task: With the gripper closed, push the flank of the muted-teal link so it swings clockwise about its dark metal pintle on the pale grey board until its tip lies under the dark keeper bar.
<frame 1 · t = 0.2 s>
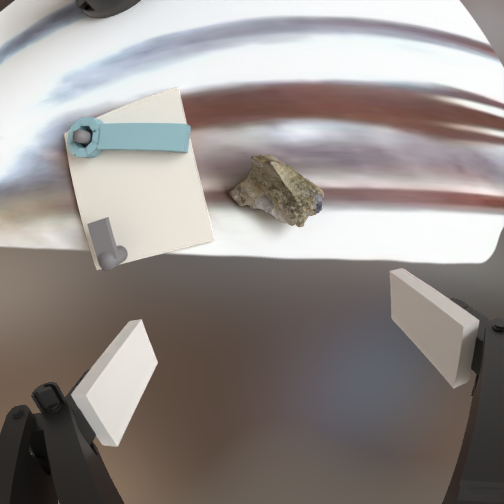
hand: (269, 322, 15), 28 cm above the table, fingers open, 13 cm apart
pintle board: (133, 180, 40), on the table
rock: (277, 194, 41), on the table
link: (124, 137, 36), point 3 cm above the table, hinge at 0.0°
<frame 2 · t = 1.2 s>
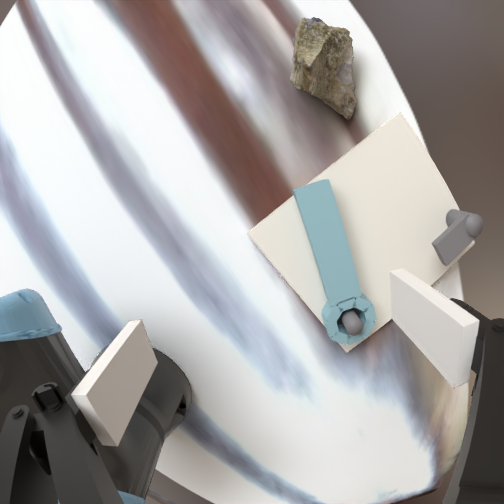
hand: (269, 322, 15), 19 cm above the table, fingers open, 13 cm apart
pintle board: (375, 236, 33), on the table
rock: (323, 71, 29), on the table
link: (335, 267, 31), point 3 cm above the table, hinge at 0.0°
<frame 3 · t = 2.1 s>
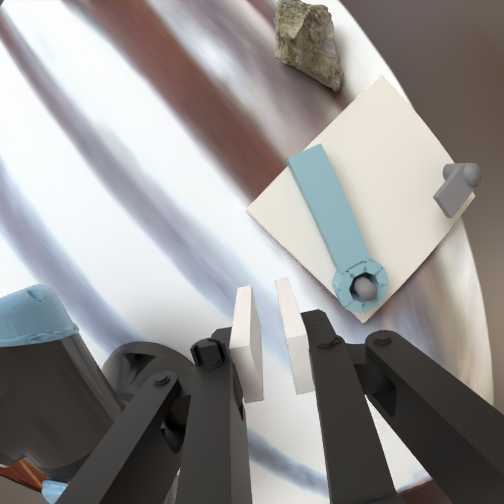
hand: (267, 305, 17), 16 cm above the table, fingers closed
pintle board: (375, 199, 32), on the table
rock: (306, 48, 28), on the table
link: (340, 232, 30), point 3 cm above the table, hinge at 0.0°
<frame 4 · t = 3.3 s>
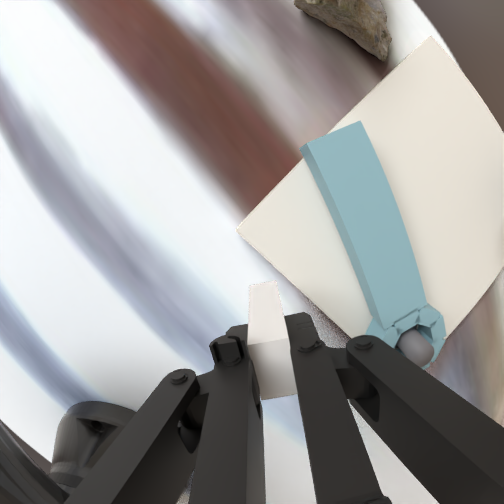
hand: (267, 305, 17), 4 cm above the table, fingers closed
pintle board: (428, 211, 20), on the table
rock: (336, 1, 17), on the table
link: (384, 266, 18), point 3 cm above the table, hinge at 0.0°
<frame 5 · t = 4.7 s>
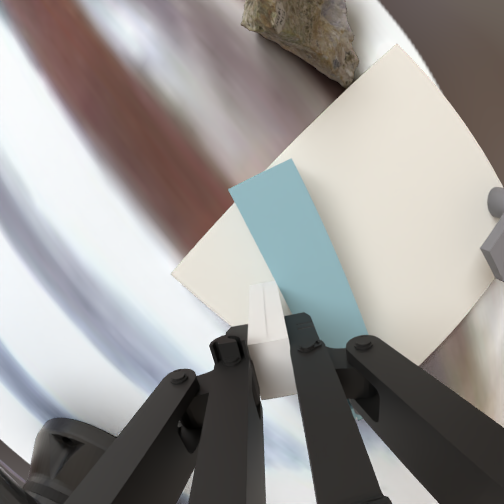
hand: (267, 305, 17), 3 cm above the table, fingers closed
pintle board: (387, 246, 20), on the table
rock: (299, 19, 16), on the table, touching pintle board
link: (325, 312, 18), point 3 cm above the table, hinge at 0.0°, touching gripper
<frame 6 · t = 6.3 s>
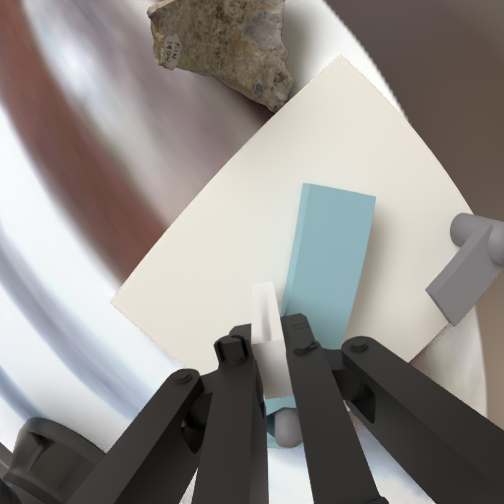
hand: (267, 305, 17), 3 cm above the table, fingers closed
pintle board: (325, 280, 20), on the table
rock: (239, 35, 16), on the table
link: (307, 339, 18), point 3 cm above the table, hinge at -34.6°, touching gripper
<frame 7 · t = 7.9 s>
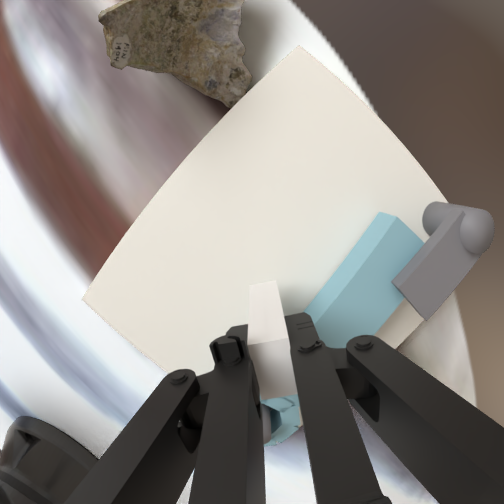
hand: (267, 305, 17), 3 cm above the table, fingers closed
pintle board: (290, 274, 19), on the table
rock: (203, 33, 16), on the table
link: (315, 349, 18), point 3 cm above the table, hinge at -62.9°
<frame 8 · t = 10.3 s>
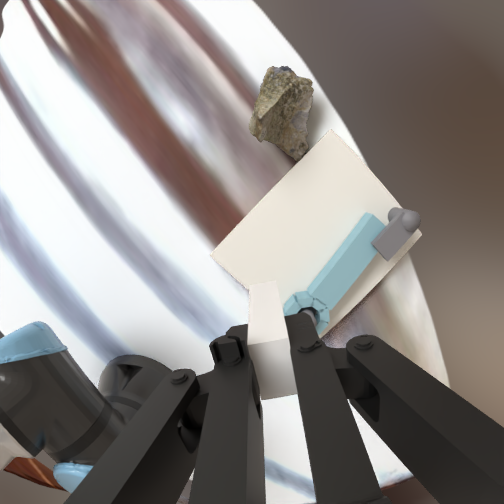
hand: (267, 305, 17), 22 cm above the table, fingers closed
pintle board: (322, 242, 39), on the table
rock: (284, 114, 36), on the table
link: (336, 277, 37), point 3 cm above the table, hinge at -62.9°
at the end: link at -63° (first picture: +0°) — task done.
